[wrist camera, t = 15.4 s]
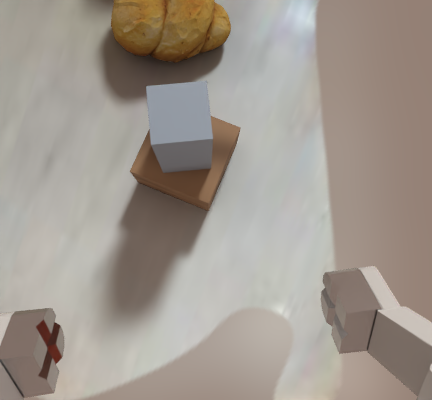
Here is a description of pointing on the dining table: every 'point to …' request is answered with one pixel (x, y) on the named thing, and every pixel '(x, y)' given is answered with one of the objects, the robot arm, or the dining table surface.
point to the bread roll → (169, 27)
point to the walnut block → (194, 179)
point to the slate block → (180, 126)
